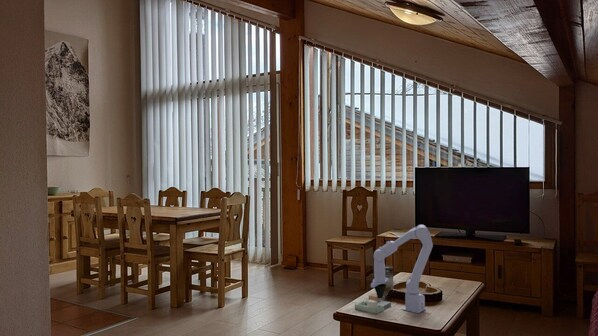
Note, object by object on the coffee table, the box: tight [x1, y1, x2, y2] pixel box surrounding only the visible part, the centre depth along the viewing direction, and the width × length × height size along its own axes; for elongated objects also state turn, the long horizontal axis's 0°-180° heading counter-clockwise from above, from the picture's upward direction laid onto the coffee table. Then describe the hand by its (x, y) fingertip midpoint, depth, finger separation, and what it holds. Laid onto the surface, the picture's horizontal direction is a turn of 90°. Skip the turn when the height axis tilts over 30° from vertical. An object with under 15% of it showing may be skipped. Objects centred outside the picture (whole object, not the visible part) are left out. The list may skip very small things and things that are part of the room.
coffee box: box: [383, 265, 394, 297], centre depth 288 cm, size 9×6×16 cm
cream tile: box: [366, 299, 378, 309], centre depth 260 cm, size 4×4×3 cm
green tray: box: [354, 300, 385, 315], centre depth 262 cm, size 13×8×2 cm, turn 49°
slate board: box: [364, 299, 392, 310], centre depth 268 cm, size 12×8×2 cm
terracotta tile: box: [368, 293, 381, 301], centre depth 270 cm, size 4×4×3 cm
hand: (380, 298), depth 264 cm, fingers closed
